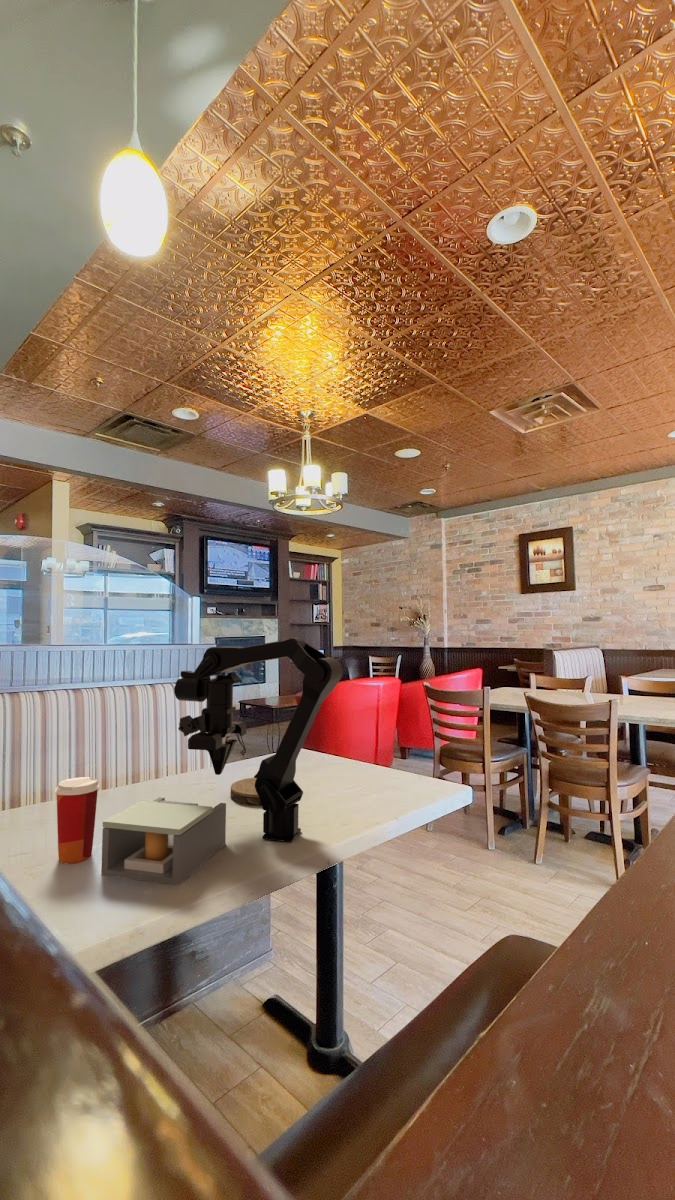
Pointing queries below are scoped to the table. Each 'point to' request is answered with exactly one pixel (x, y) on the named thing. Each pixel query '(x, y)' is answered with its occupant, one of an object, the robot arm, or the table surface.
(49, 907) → the table surface
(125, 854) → the housing
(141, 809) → the lid
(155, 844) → the orange rounded cylinder
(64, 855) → the paper cup
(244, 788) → the wood slice coaster
